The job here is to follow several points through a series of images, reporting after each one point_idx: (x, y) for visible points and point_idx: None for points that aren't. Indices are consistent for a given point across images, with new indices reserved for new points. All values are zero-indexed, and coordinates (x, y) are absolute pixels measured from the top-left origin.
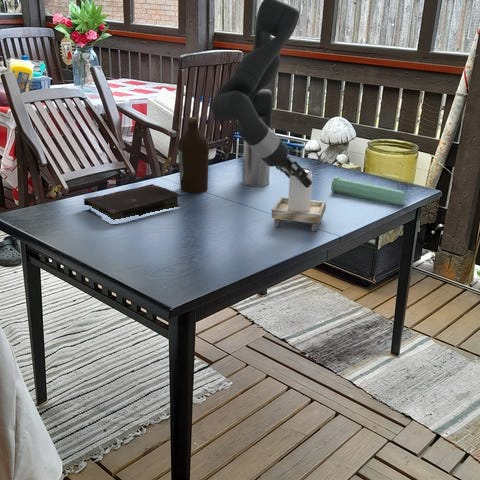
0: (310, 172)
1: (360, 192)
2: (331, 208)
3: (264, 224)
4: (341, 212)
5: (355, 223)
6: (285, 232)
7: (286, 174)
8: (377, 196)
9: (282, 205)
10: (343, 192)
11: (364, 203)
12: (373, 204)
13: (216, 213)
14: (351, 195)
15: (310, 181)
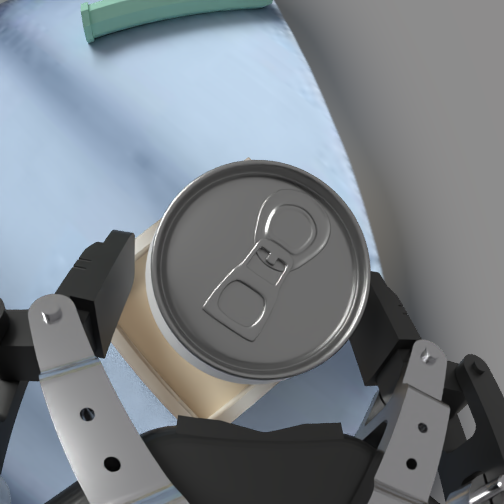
0: (340, 211)
1: (171, 10)
2: (171, 108)
3: (156, 414)
4: (218, 108)
5: (316, 145)
6: (264, 399)
7: (111, 336)
8: (218, 5)
9: (135, 328)
10: (119, 29)
11: (204, 33)
12: (224, 27)
13: (7, 455)
14: (141, 24)
15: (381, 284)
